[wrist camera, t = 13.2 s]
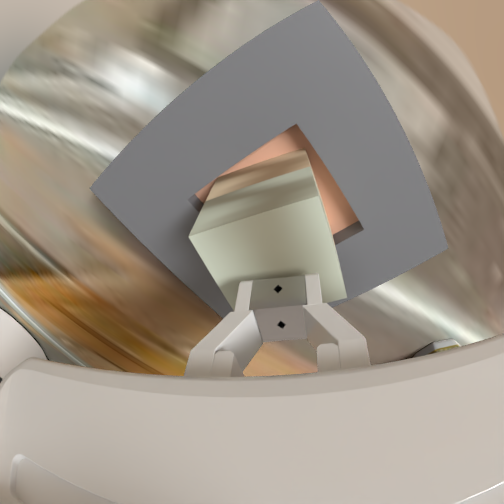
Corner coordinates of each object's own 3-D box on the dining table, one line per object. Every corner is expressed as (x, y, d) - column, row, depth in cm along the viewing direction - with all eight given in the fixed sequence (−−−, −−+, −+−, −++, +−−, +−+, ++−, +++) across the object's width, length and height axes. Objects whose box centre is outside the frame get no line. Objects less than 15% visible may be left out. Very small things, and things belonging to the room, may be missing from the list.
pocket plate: (252, 318, 24) (250, 341, 22) (107, 173, 17) (89, 188, 16) (434, 228, 18) (448, 248, 16) (312, 9, 11) (318, 0, 9)
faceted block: (251, 247, 18) (240, 321, 14) (217, 177, 16) (188, 236, 11) (329, 225, 17) (347, 297, 12) (304, 147, 14) (318, 195, 10)
